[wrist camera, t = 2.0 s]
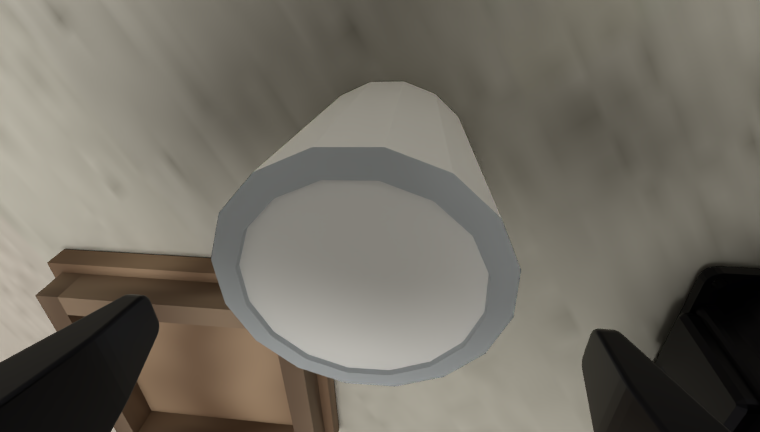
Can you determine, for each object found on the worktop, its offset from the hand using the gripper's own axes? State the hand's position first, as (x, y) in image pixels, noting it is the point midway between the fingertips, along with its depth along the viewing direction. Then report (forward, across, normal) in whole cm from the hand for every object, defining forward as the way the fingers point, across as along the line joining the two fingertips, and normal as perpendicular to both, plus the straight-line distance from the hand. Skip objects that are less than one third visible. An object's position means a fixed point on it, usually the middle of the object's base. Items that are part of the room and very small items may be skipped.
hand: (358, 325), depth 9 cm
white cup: (+8, 0, 0) cm, 8 cm away
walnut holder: (+8, +9, +11) cm, 16 cm away
